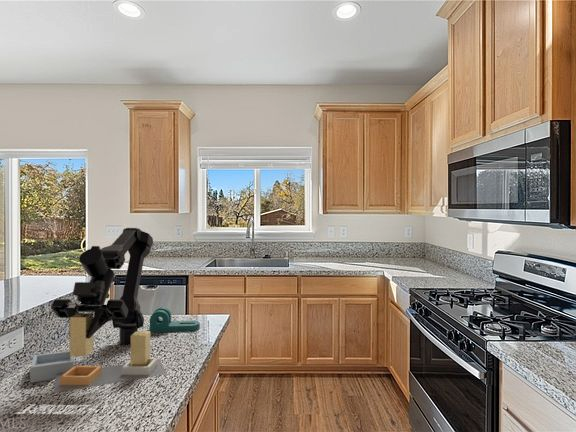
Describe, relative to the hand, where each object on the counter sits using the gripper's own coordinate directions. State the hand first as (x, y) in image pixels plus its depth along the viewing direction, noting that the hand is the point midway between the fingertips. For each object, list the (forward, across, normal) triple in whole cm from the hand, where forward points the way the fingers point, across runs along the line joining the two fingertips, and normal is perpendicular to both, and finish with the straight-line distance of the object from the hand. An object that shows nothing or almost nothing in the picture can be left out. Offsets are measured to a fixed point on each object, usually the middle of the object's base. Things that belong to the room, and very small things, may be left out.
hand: (79, 337), depth 104 cm
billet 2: (+2, +13, +13) cm, 19 cm away
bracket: (-27, +11, +46) cm, 54 cm away
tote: (+3, -12, +15) cm, 19 cm away
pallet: (+6, +6, +12) cm, 15 cm away
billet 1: (+2, 0, +4) cm, 5 cm away
